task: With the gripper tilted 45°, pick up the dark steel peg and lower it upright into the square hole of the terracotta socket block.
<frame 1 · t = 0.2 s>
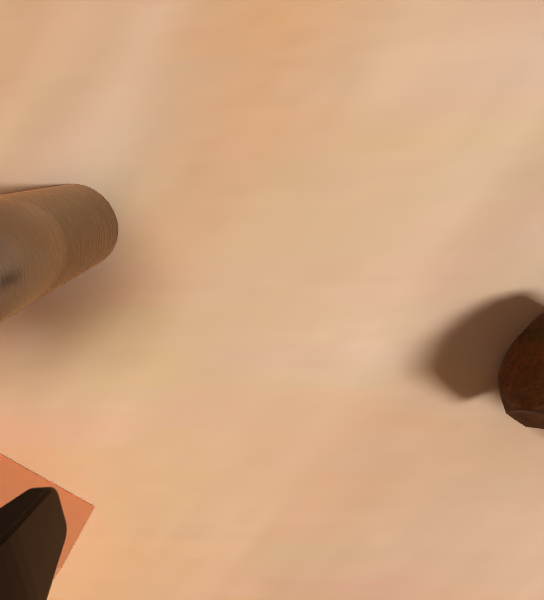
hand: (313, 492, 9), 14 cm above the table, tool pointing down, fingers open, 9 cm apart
peg: (76, 226, 22), on the table
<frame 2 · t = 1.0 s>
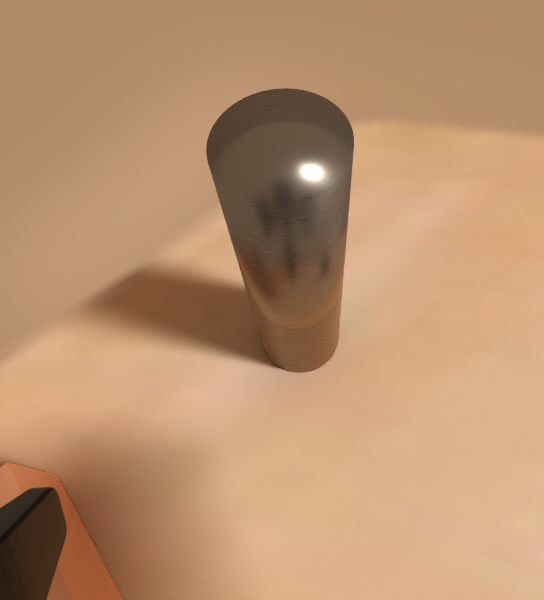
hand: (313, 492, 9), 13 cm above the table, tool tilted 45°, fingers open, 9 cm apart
peg: (299, 335, 24), on the table
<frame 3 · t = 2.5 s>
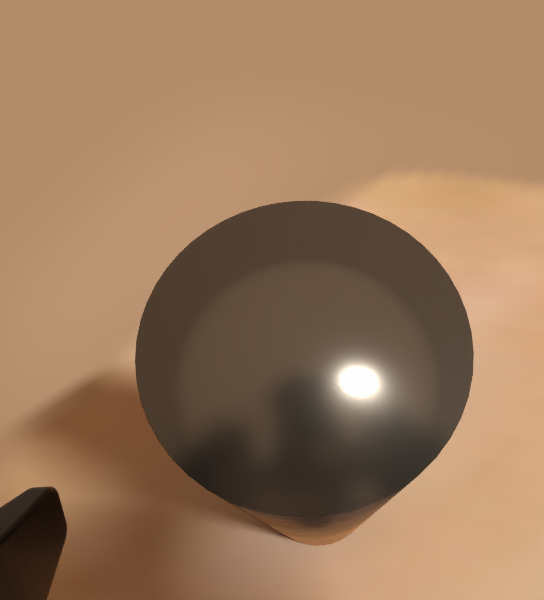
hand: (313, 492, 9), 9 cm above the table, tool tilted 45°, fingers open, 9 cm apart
peg: (315, 485, 17), on the table
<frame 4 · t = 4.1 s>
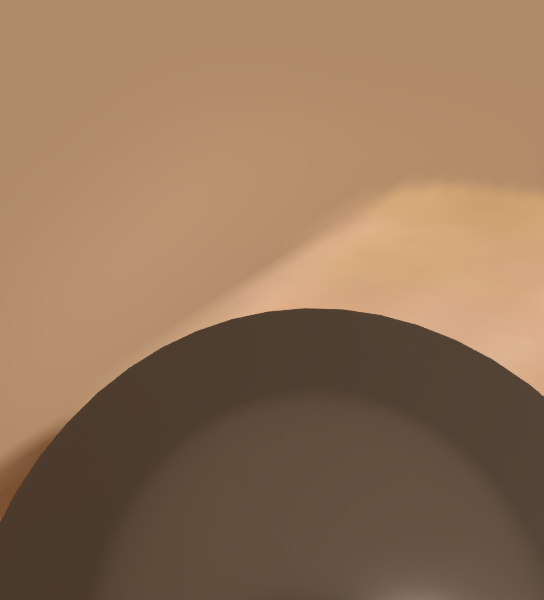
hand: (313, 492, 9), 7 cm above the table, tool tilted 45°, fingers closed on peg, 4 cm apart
peg: (321, 570, 14), on the table, touching gripper
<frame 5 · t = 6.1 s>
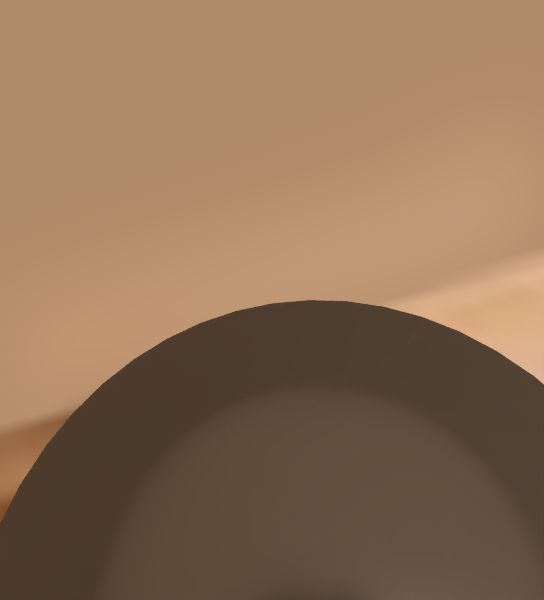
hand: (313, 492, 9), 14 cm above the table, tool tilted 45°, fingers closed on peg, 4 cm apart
peg: (322, 568, 14), point 7 cm above the table, touching gripper
when the fingers open (8 cm above the table, at t = 8.3 s): peg drops 1 cm, resting in socket block.
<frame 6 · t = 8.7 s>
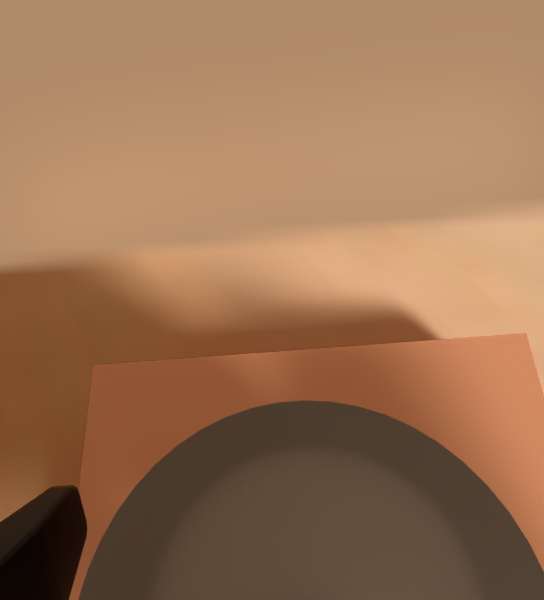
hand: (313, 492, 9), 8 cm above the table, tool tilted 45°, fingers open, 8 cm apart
peg: (321, 569, 15), resting in socket block
socket block: (318, 532, 16), on the table
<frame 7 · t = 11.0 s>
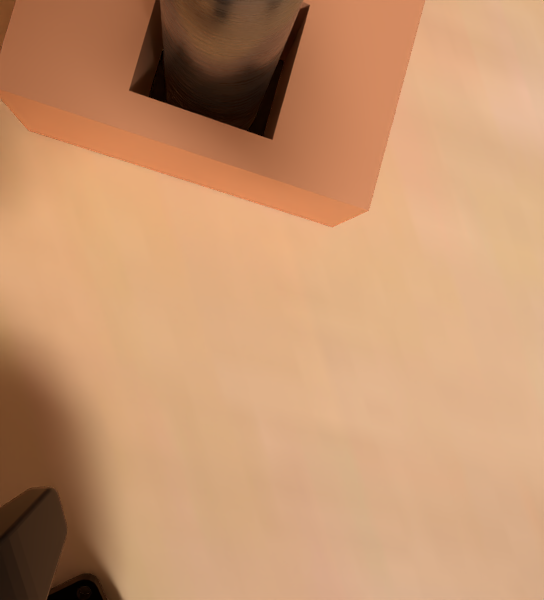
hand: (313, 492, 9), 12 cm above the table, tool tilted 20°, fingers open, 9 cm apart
peg: (213, 96, 20), resting in socket block
socket block: (219, 71, 20), on the table
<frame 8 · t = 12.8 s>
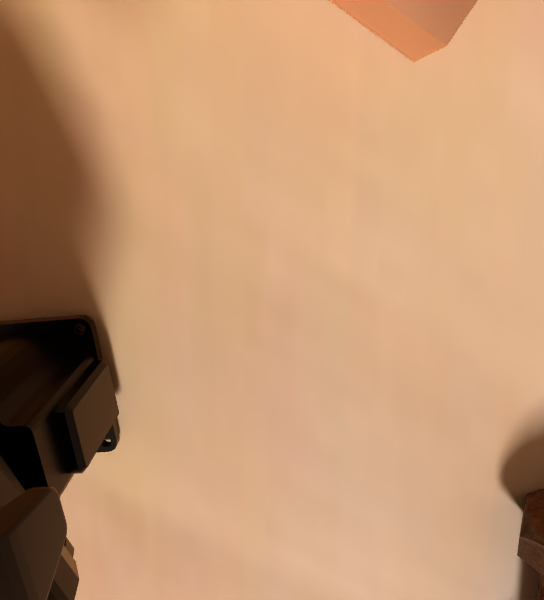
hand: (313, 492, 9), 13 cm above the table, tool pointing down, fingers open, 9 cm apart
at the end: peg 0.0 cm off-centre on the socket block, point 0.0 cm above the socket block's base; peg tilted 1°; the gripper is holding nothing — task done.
